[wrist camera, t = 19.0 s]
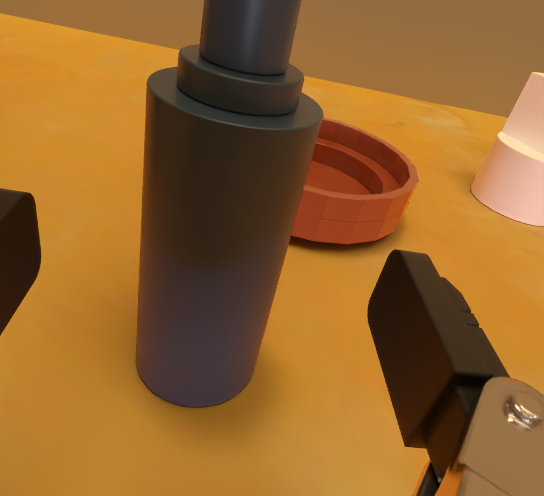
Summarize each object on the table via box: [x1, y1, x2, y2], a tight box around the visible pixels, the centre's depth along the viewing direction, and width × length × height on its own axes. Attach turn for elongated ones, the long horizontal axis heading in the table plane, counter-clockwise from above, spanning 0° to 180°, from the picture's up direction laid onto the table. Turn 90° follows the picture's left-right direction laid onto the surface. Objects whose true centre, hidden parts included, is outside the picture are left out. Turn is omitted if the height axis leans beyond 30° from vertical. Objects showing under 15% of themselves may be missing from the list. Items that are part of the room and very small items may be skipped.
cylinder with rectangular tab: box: [470, 72, 544, 226], centre depth 43 cm, size 9×9×12 cm
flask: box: [136, 0, 323, 407], centre depth 17 cm, size 6×6×18 cm
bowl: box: [291, 117, 419, 244], centre depth 37 cm, size 16×16×4 cm
